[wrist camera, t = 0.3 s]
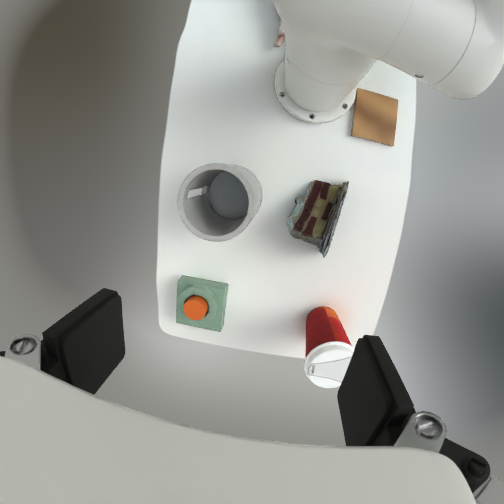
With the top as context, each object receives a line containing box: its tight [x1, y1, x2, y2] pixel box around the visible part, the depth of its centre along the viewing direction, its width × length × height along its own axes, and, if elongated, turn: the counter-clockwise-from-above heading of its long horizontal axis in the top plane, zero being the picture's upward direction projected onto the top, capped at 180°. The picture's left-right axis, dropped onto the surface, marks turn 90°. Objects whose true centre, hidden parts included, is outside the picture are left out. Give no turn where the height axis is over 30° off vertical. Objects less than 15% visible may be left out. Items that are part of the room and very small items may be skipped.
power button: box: [184, 296, 208, 320], centre depth 45 cm, size 4×4×2 cm
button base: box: [176, 276, 228, 332], centre depth 48 cm, size 8×8×4 cm
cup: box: [178, 163, 262, 242], centre depth 39 cm, size 9×9×12 cm
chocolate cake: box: [287, 180, 349, 258], centre depth 42 cm, size 10×7×12 cm
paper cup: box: [304, 307, 354, 388], centre depth 42 cm, size 8×8×14 cm
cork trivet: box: [351, 88, 398, 146], centre depth 38 cm, size 8×7×1 cm
